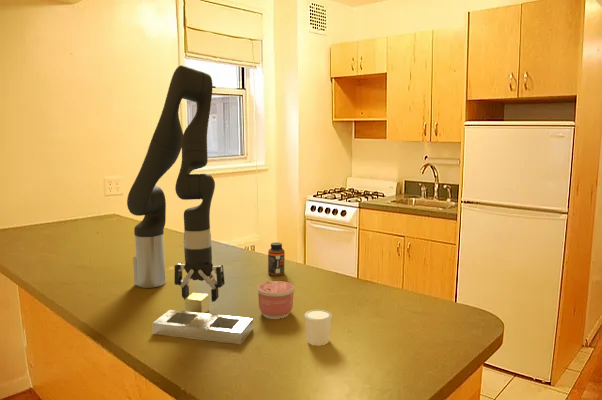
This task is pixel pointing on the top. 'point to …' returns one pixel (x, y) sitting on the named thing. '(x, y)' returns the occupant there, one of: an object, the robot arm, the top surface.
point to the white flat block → (203, 326)
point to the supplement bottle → (276, 259)
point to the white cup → (318, 326)
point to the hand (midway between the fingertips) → (200, 299)
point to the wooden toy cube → (197, 303)
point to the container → (275, 299)
